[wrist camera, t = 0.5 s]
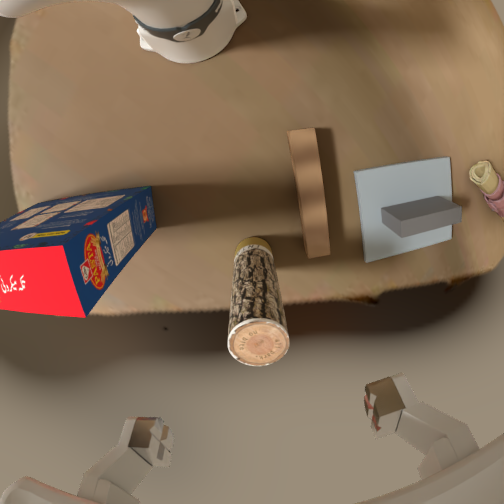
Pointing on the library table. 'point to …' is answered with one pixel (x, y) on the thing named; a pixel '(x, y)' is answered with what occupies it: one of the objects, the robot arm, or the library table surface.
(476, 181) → the scroll
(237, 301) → the bark cylinder
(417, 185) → the ridge stand
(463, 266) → the library table surface
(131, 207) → the pasta box
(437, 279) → the library table surface
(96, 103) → the library table surface
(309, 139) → the light brown wooden bar
